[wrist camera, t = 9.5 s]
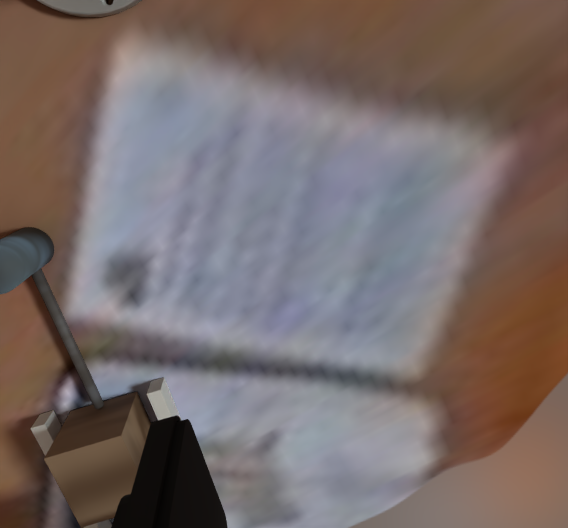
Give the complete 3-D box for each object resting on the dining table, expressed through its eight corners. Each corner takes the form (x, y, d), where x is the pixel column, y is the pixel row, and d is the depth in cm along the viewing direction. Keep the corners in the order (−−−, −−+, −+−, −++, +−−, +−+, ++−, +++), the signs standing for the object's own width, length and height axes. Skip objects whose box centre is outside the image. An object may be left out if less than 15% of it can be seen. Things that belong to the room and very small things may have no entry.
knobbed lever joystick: (-15, 239, 35) (-63, 261, 30) (61, 217, 36) (28, 235, 30) (101, 473, 43) (81, 527, 37) (164, 454, 43) (153, 505, 37)
